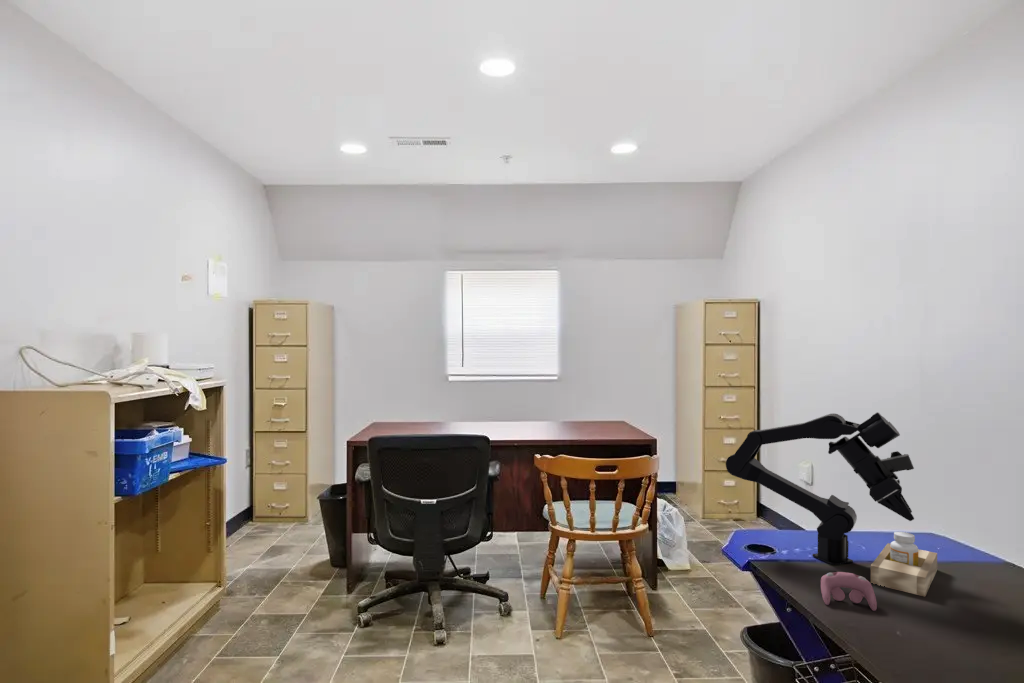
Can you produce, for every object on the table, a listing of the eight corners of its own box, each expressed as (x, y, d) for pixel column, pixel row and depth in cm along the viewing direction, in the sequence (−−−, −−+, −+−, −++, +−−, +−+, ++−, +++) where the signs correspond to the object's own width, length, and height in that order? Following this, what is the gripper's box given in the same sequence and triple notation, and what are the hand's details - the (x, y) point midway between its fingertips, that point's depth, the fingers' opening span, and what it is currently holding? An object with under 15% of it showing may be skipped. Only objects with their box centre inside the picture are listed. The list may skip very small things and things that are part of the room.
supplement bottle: (909, 572, 137) (910, 530, 137) (923, 581, 131) (923, 538, 131) (885, 571, 137) (885, 529, 137) (898, 580, 132) (898, 537, 132)
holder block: (870, 583, 130) (870, 565, 130) (887, 559, 145) (887, 543, 145) (925, 596, 123) (925, 577, 123) (937, 569, 138) (937, 553, 138)
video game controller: (873, 612, 119) (869, 576, 122) (879, 611, 115) (875, 573, 118) (819, 605, 122) (817, 570, 125) (823, 604, 118) (821, 567, 121)
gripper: (893, 442, 130) (949, 504, 124) (891, 437, 146) (940, 491, 140) (848, 470, 134) (900, 531, 128) (851, 462, 150) (897, 516, 144)
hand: (911, 516), depth 135 cm, fingers open, 9 cm apart
